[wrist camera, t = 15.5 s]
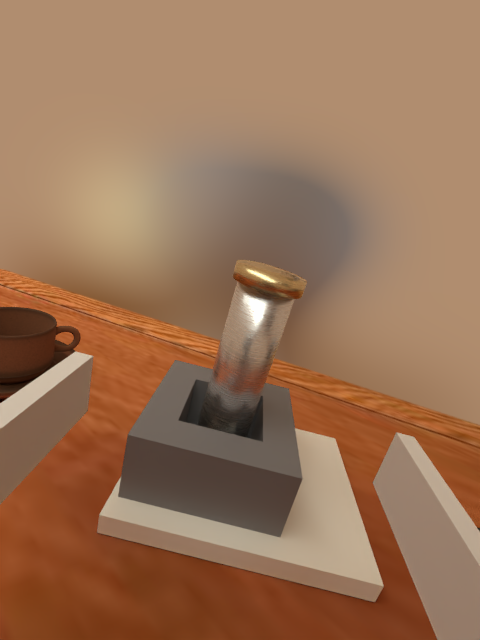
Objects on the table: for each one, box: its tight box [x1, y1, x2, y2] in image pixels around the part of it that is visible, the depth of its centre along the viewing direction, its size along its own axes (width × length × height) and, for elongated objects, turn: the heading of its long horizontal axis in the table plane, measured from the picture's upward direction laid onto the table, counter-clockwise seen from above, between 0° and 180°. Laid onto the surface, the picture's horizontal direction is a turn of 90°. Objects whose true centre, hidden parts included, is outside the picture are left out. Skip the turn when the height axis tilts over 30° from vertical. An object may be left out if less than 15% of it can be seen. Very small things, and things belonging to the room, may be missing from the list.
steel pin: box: [197, 260, 307, 437], centre depth 24 cm, size 5×5×16 cm
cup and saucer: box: [0, 307, 80, 399], centre depth 32 cm, size 12×12×6 cm
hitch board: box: [97, 360, 384, 602], centre depth 26 cm, size 18×14×6 cm
